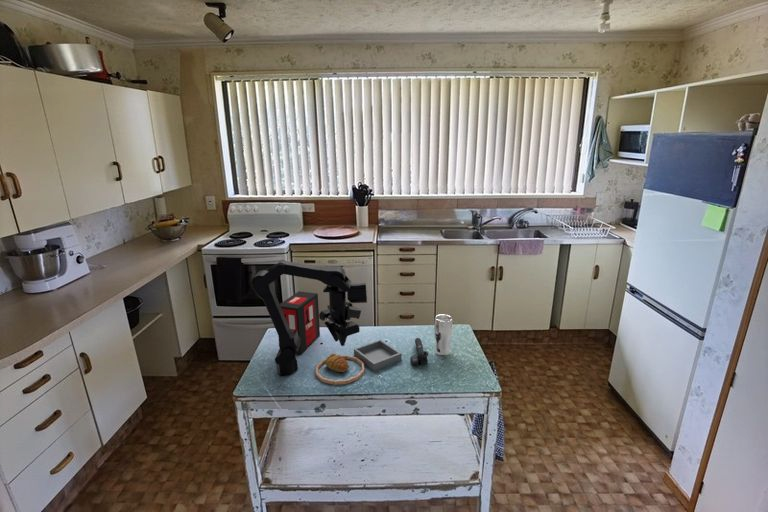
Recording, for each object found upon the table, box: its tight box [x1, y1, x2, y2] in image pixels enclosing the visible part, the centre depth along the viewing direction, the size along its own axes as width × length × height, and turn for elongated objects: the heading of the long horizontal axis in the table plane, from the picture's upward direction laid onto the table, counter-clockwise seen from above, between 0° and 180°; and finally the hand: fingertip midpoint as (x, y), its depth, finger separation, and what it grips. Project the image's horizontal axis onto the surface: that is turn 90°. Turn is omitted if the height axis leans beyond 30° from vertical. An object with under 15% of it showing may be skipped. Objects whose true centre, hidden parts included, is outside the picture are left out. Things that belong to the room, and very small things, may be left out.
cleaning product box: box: [279, 291, 321, 356], centre depth 159 cm, size 16×9×20 cm, turn 162°
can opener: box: [409, 337, 429, 366], centre depth 152 cm, size 18×7×6 cm, turn 177°
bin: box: [353, 339, 403, 372], centre depth 151 cm, size 13×14×3 cm
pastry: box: [324, 353, 350, 373], centre depth 144 cm, size 9×7×4 cm
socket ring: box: [315, 354, 365, 386], centre depth 143 cm, size 17×17×1 cm
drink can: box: [433, 313, 453, 356], centre depth 153 cm, size 7×7×15 cm
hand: (339, 343), depth 140 cm, fingers open, 4 cm apart
